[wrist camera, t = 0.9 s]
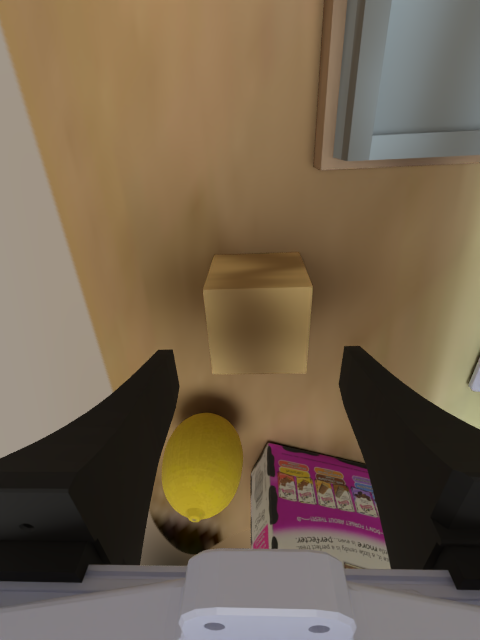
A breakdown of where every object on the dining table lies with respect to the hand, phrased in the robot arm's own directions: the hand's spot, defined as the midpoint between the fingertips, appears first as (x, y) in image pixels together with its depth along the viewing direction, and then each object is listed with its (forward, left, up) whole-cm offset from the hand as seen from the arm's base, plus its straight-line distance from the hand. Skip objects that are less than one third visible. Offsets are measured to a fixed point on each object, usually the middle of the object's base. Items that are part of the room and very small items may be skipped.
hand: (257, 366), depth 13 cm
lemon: (+4, +11, -8) cm, 14 cm away
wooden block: (0, 0, -8) cm, 8 cm away
